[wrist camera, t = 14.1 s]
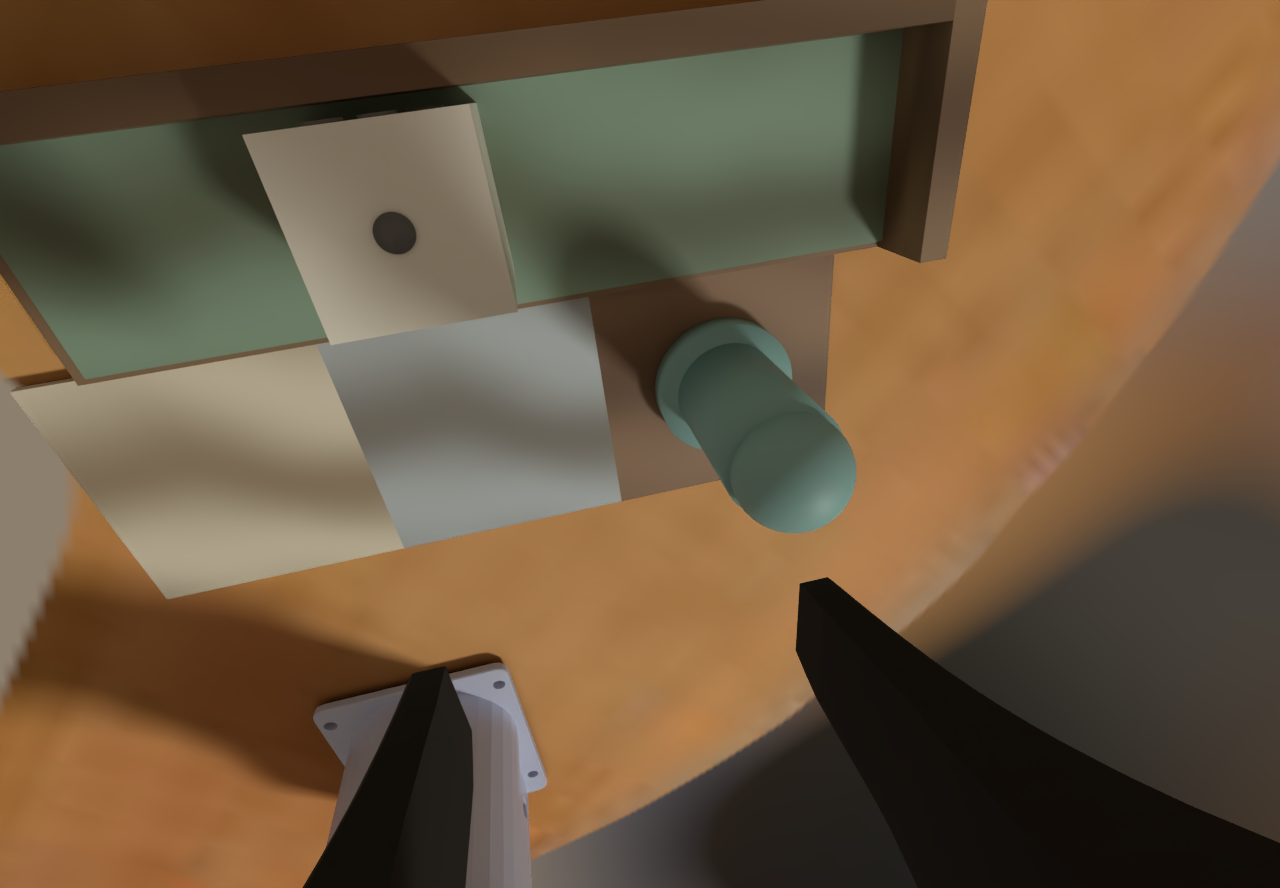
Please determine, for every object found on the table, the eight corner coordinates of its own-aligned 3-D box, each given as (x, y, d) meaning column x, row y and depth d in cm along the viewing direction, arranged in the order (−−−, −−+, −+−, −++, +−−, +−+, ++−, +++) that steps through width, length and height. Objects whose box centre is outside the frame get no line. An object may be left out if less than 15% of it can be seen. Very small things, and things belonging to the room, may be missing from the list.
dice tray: (887, 237, 19) (946, 258, 17) (95, 374, 16) (21, 424, 14) (913, -7, 16) (991, -28, 13) (-77, 113, 13) (-216, 117, 11)
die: (513, 267, 16) (517, 312, 13) (364, 293, 16) (326, 347, 12) (475, 99, 14) (467, 99, 11) (301, 123, 14) (234, 131, 10)
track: (818, 453, 23) (821, 457, 23) (171, 593, 20) (167, 599, 20) (829, 246, 19) (834, 248, 19) (17, 387, 16) (9, 392, 16)
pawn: (781, 425, 22) (896, 556, 15) (661, 451, 21) (731, 598, 15) (783, 305, 19) (921, 403, 13) (648, 330, 19) (724, 445, 13)
